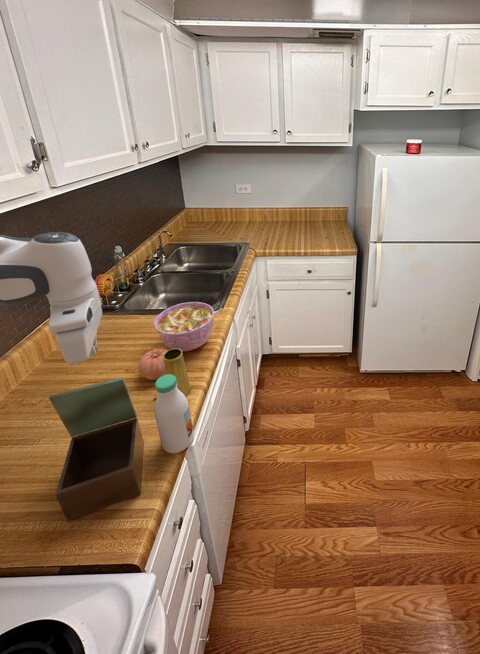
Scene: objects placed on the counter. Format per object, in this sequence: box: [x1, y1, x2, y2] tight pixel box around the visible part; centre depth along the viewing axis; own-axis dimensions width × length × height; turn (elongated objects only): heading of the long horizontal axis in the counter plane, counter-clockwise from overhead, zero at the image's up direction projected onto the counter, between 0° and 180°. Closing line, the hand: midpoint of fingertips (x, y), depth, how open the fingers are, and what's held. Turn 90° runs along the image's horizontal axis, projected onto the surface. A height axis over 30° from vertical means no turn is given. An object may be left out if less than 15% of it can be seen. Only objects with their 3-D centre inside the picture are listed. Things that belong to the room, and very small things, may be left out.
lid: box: [48, 377, 138, 438], centre depth 75 cm, size 15×14×1 cm
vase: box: [163, 348, 192, 397], centre depth 98 cm, size 6×6×14 cm
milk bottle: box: [154, 374, 195, 454], centre depth 82 cm, size 8×8×20 cm
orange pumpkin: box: [137, 347, 169, 381], centre depth 106 cm, size 11×11×8 cm
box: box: [55, 417, 145, 523], centre depth 75 cm, size 14×14×9 cm
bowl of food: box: [153, 301, 215, 352], centre depth 119 cm, size 20×20×12 cm
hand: (93, 352), depth 79 cm, fingers closed
